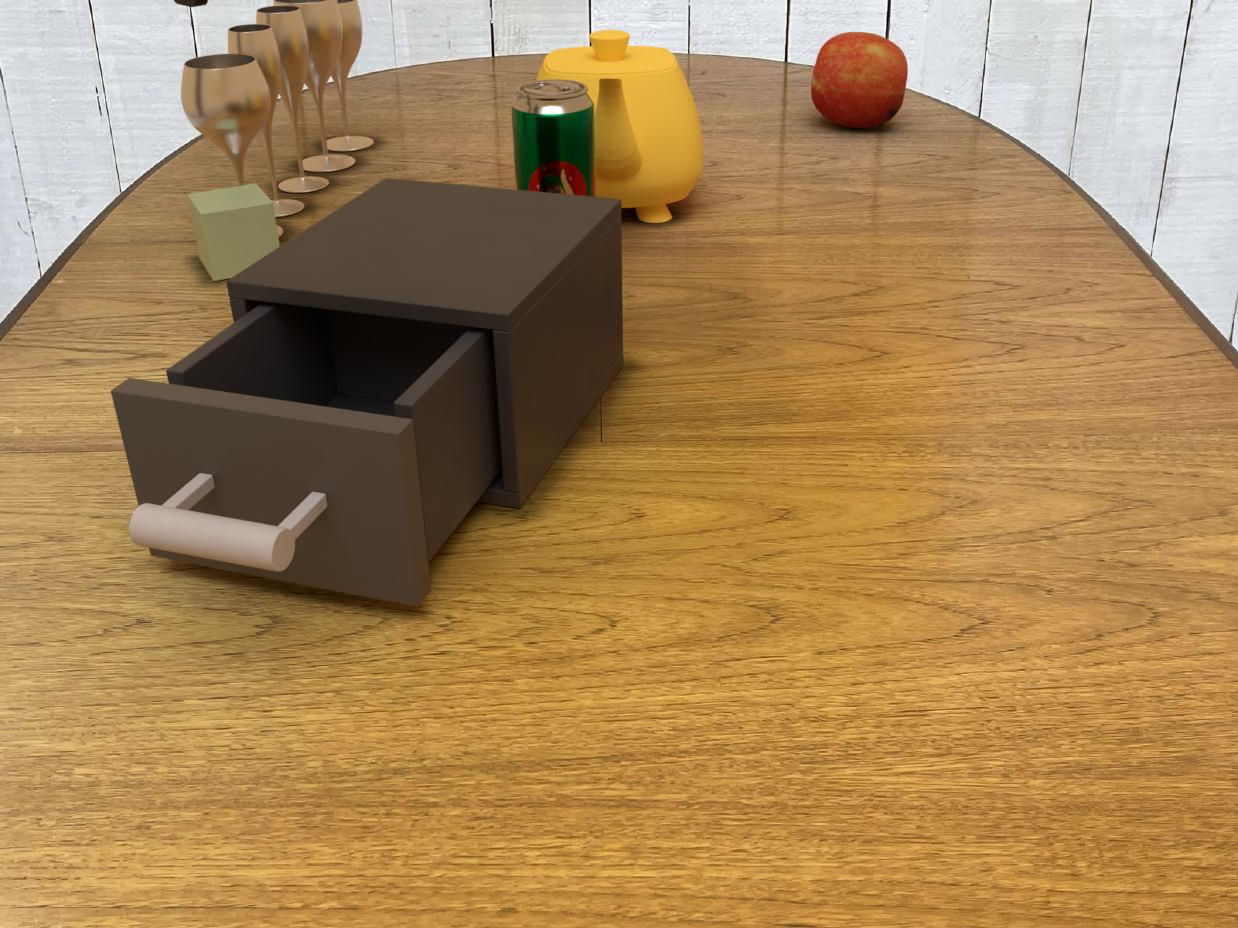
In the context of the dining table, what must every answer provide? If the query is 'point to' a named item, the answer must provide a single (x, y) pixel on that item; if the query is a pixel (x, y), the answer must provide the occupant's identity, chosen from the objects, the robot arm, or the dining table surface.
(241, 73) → the goblet set
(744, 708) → the dining table surface
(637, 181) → the teapot
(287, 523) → the drawer
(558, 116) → the soda can
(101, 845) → the dining table surface
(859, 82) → the apple
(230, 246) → the block
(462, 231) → the cabinet
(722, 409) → the dining table surface
